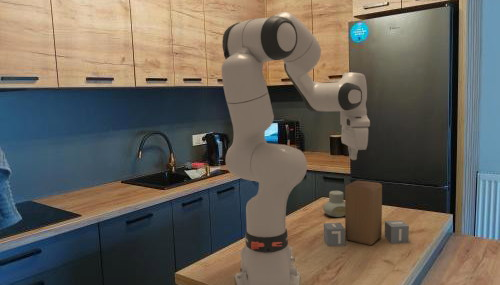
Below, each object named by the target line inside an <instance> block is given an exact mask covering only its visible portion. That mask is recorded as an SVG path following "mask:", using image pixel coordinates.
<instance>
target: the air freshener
mask: <svg viewBox="0 0 500 285" xmlns="http://www.w3.org/2000/svg"><path fill="white" fill-rule="evenodd" d="M328 195H329V196H328V200H329V201H326V202H325V203H324V204H323V208H322V209H323V212H324V213H325V214H326V215H327V216H330V217H333V218H342V217H345V201H344V199H345V198H344V192H343V191H341V190H331V191H329V194H328Z"/></svg>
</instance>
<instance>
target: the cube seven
mask: <svg viewBox="0 0 500 285" xmlns="http://www.w3.org/2000/svg"><path fill="white" fill-rule="evenodd" d="M323 241H324V242H325V244H326V246H327V247H333V246H336V247H337V246H338V247H339V246H346V238H345V226H343V224H342V223H341V222H327V223H326V222H325V223H323Z"/></svg>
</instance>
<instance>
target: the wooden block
mask: <svg viewBox="0 0 500 285" xmlns="http://www.w3.org/2000/svg"><path fill="white" fill-rule="evenodd" d="M344 187H345V189H344V190H345V194H344V199H345V201H344V202H345V216H344V218H345V219H344V222H345V223H344V224H345V225H344V228H345V240H347V241H352V242H356V243H359V244H364V245H368V246H371V245H372V246H373V244H375V243H376V242H377V241H378V240H379V239H380V238H381V237H382V233H383V232H382V229H383V228H382V226H383V225H382V224H383V222H382V219H383V217H382V216H383V215H382V214H383V213H382V212H383V185H382V183H380V182H376V181H375V182H373V181H367V180H366V181H365V180H359V179H358V180H355V181H352V182H350V183H348V184H346V185H345V186H344Z"/></svg>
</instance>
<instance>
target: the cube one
mask: <svg viewBox="0 0 500 285" xmlns="http://www.w3.org/2000/svg"><path fill="white" fill-rule="evenodd" d="M409 228H410V226H409V225H408V224H407V223H406V222H404V221H403V220H399V219H398V220H385V221H384V238H385V239H386V240H387V241H388V242H389V243H390V244H407V243H409V241H410V239H409V237H410V236H409V235H410V233H409V231H410V229H409Z"/></svg>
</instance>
